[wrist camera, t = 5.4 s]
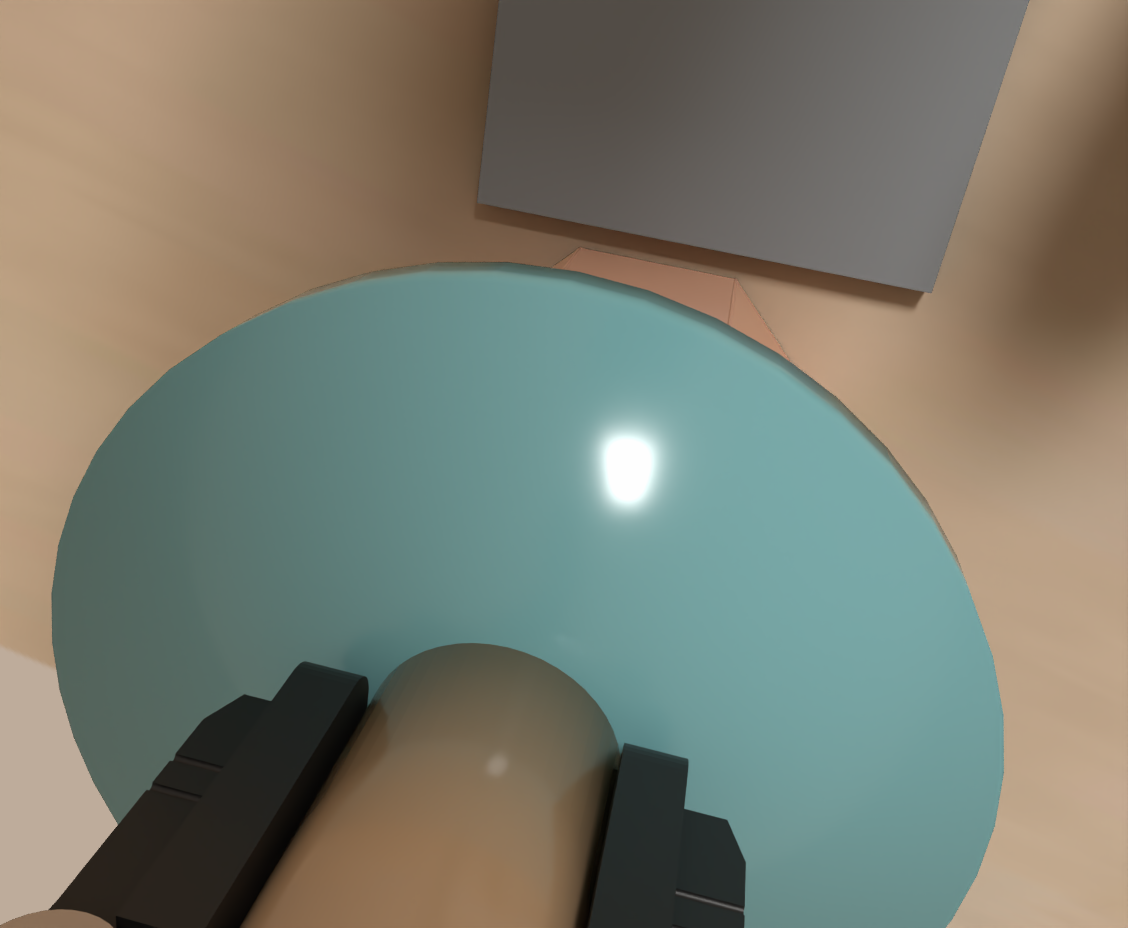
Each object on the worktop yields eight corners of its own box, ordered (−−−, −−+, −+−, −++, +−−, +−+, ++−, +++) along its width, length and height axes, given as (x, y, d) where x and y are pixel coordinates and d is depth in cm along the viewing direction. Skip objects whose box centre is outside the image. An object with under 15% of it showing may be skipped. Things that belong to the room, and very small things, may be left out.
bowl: (471, 224, 27) (412, 271, 23) (851, 301, 26) (866, 365, 22) (437, 543, 32) (382, 632, 28) (757, 619, 31) (753, 725, 27)
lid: (63, 169, 10) (-655, 318, 5) (1155, 385, 9) (1665, 862, 4) (112, 908, 15) (-235, 1378, 10) (836, 1111, 14) (879, 1763, 9)
